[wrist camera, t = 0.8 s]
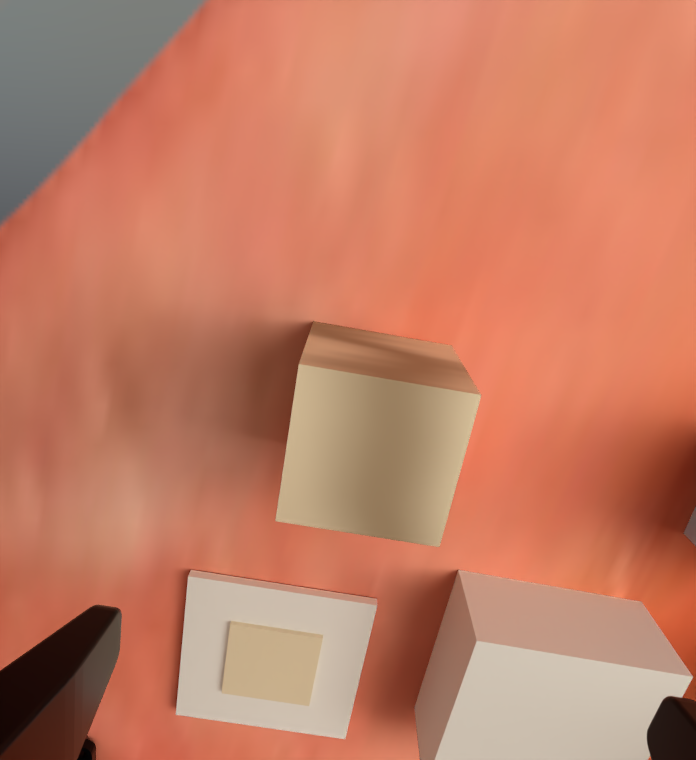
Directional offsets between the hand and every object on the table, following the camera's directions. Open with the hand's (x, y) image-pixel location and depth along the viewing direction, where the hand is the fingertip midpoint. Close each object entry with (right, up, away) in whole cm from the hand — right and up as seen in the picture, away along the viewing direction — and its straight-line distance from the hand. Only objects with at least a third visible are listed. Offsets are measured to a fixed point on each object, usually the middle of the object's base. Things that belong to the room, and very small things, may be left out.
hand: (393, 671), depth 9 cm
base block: (+7, -8, +15) cm, 19 cm away
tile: (-4, -8, +15) cm, 18 cm away
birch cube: (0, +4, +11) cm, 12 cm away
